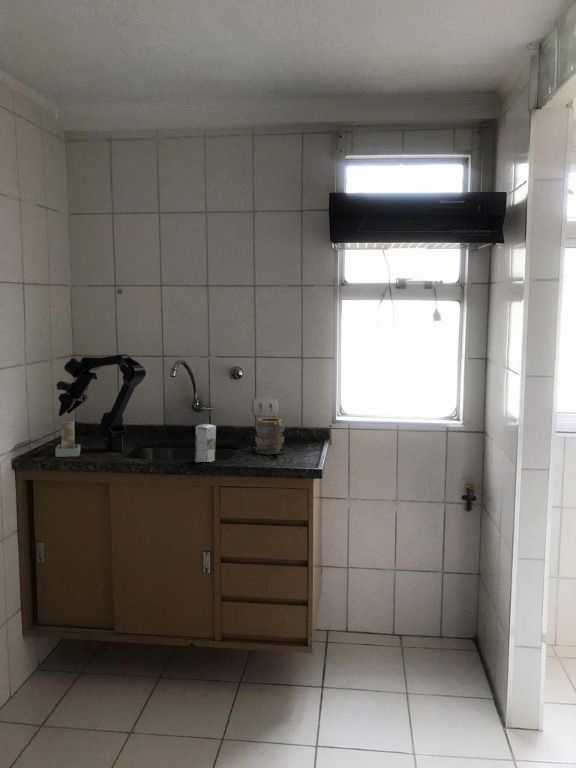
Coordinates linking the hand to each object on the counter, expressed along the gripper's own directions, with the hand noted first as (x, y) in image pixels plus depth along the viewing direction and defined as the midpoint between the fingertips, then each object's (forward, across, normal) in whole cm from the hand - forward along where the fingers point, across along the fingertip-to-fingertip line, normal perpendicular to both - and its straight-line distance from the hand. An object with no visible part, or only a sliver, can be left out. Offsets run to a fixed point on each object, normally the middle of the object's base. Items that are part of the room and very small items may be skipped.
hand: (63, 414), depth 279 cm
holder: (+8, +16, +14) cm, 23 cm away
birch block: (+8, +16, +14) cm, 23 cm away
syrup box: (-19, +22, +63) cm, 69 cm away
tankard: (-32, +4, +85) cm, 91 cm away
